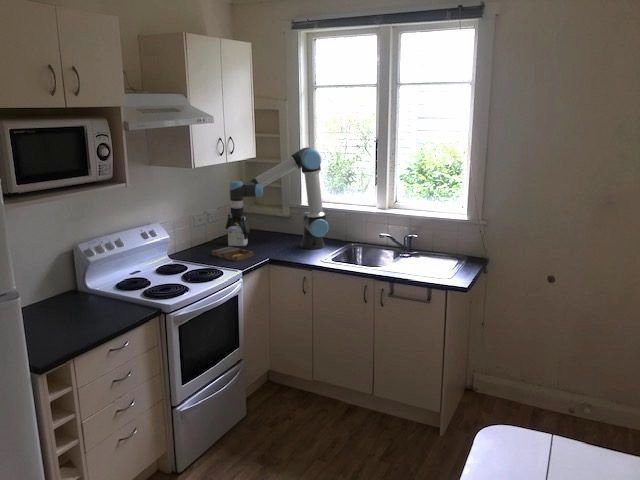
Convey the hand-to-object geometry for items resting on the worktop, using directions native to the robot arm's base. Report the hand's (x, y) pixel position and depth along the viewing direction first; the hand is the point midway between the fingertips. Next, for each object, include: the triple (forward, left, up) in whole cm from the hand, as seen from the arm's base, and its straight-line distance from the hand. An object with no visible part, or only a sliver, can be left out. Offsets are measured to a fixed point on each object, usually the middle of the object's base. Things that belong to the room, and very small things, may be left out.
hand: (238, 242), depth 336 cm
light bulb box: (0, 0, -2) cm, 2 cm away
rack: (+5, 0, -9) cm, 11 cm away
